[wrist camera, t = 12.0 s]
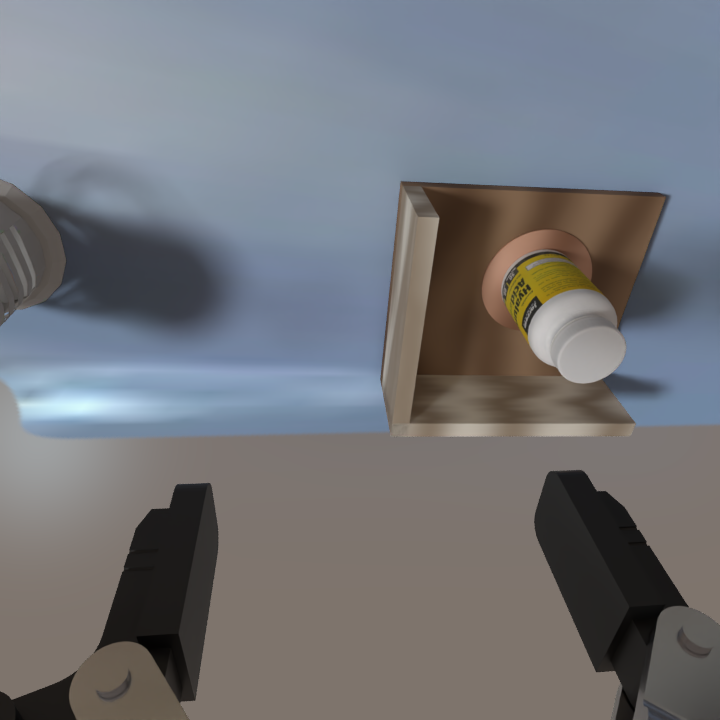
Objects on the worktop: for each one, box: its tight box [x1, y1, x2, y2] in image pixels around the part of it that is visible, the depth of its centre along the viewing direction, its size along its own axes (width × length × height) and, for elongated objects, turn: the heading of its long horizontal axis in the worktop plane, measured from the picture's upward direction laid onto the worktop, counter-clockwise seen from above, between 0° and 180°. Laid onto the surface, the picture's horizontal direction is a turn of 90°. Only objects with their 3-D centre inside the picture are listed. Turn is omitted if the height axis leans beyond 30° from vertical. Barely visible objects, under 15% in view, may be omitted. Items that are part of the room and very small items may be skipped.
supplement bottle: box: [501, 249, 626, 384], centre depth 36 cm, size 5×5×10 cm
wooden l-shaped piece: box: [380, 181, 666, 437], centre depth 39 cm, size 18×16×7 cm
